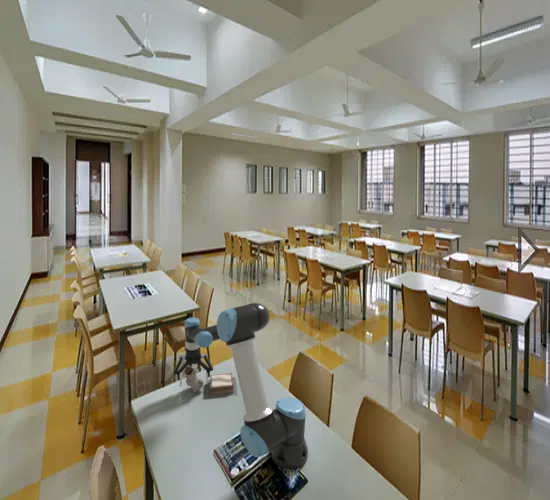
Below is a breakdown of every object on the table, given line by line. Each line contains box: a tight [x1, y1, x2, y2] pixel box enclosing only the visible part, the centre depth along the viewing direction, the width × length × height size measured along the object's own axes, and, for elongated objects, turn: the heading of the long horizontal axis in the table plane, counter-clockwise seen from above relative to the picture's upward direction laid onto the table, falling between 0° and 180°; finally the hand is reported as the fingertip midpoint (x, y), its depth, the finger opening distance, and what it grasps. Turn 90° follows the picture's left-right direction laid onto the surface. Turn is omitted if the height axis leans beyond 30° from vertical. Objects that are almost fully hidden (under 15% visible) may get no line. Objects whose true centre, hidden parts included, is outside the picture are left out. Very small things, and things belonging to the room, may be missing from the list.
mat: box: [206, 376, 238, 399], centre depth 170 cm, size 16×16×1 cm
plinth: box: [209, 373, 234, 395], centre depth 169 cm, size 12×12×4 cm
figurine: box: [183, 365, 204, 393], centre depth 166 cm, size 9×10×15 cm
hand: (194, 383), depth 166 cm, fingers open, 13 cm apart
